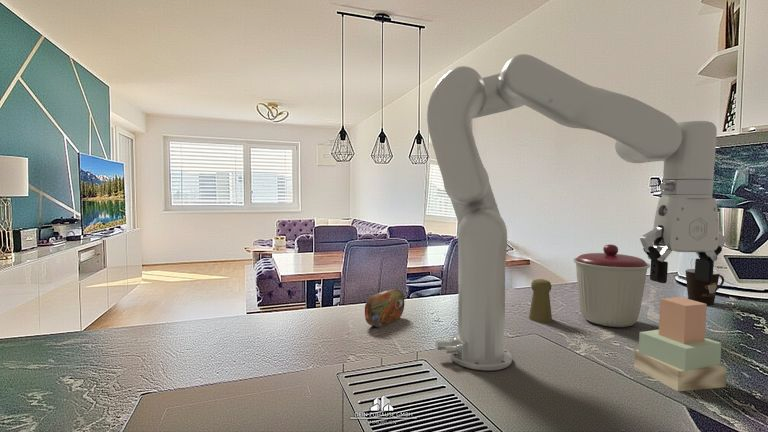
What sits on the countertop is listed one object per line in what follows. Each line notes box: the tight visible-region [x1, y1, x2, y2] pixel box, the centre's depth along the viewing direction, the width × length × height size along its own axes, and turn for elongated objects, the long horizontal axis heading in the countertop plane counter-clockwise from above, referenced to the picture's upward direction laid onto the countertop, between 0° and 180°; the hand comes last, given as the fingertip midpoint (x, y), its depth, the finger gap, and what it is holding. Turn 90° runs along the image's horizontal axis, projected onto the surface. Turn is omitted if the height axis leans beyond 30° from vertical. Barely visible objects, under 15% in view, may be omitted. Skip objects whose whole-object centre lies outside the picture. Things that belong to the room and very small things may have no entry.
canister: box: [572, 243, 651, 328], centre depth 110 cm, size 18×18×21 cm
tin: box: [364, 289, 405, 328], centre depth 110 cm, size 15×3×8 cm, turn 143°
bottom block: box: [633, 349, 728, 392], centre depth 78 cm, size 10×10×4 cm
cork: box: [528, 278, 553, 324], centre depth 113 cm, size 6×6×11 cm
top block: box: [638, 329, 722, 371], centre depth 77 cm, size 9×9×4 cm
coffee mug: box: [685, 268, 725, 306], centre depth 129 cm, size 12×9×10 cm
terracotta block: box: [658, 296, 708, 344], centre depth 77 cm, size 5×5×7 cm
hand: (680, 281), depth 77 cm, fingers open, 9 cm apart
